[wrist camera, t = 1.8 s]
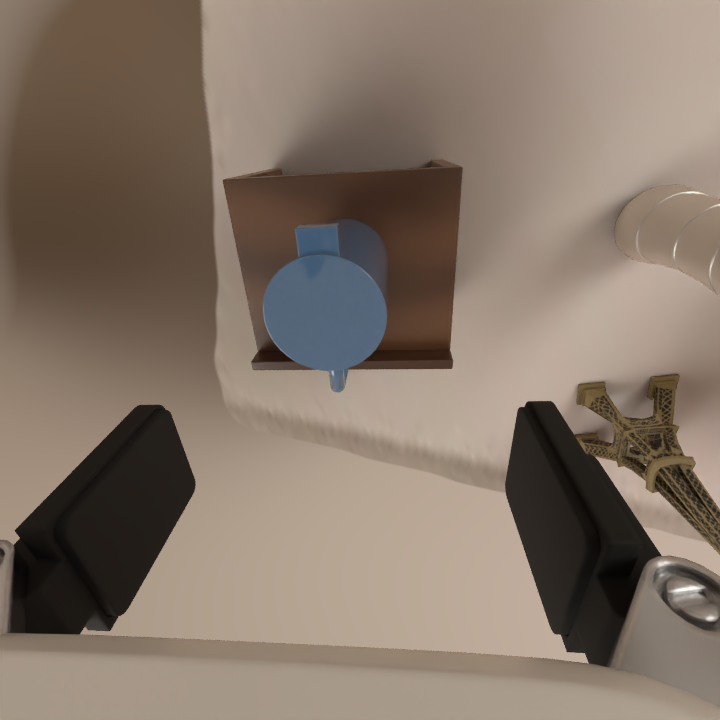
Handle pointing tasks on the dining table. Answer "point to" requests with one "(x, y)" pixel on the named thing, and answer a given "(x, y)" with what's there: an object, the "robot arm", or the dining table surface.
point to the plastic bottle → (673, 231)
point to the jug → (330, 297)
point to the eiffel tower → (654, 452)
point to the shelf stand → (391, 222)
